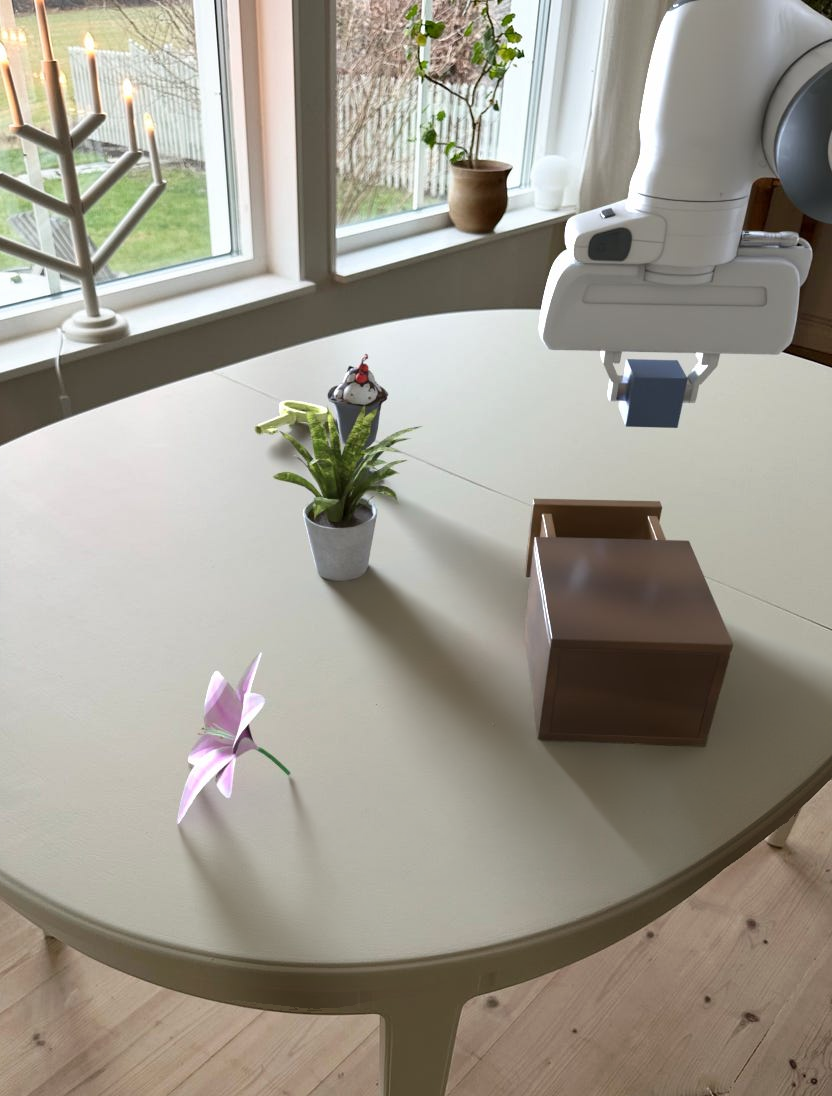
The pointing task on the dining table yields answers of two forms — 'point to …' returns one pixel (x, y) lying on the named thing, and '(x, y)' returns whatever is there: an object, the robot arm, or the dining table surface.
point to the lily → (224, 735)
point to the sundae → (357, 402)
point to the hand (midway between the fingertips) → (650, 399)
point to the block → (653, 393)
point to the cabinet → (623, 642)
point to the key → (291, 416)
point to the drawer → (593, 521)
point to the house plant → (342, 494)
